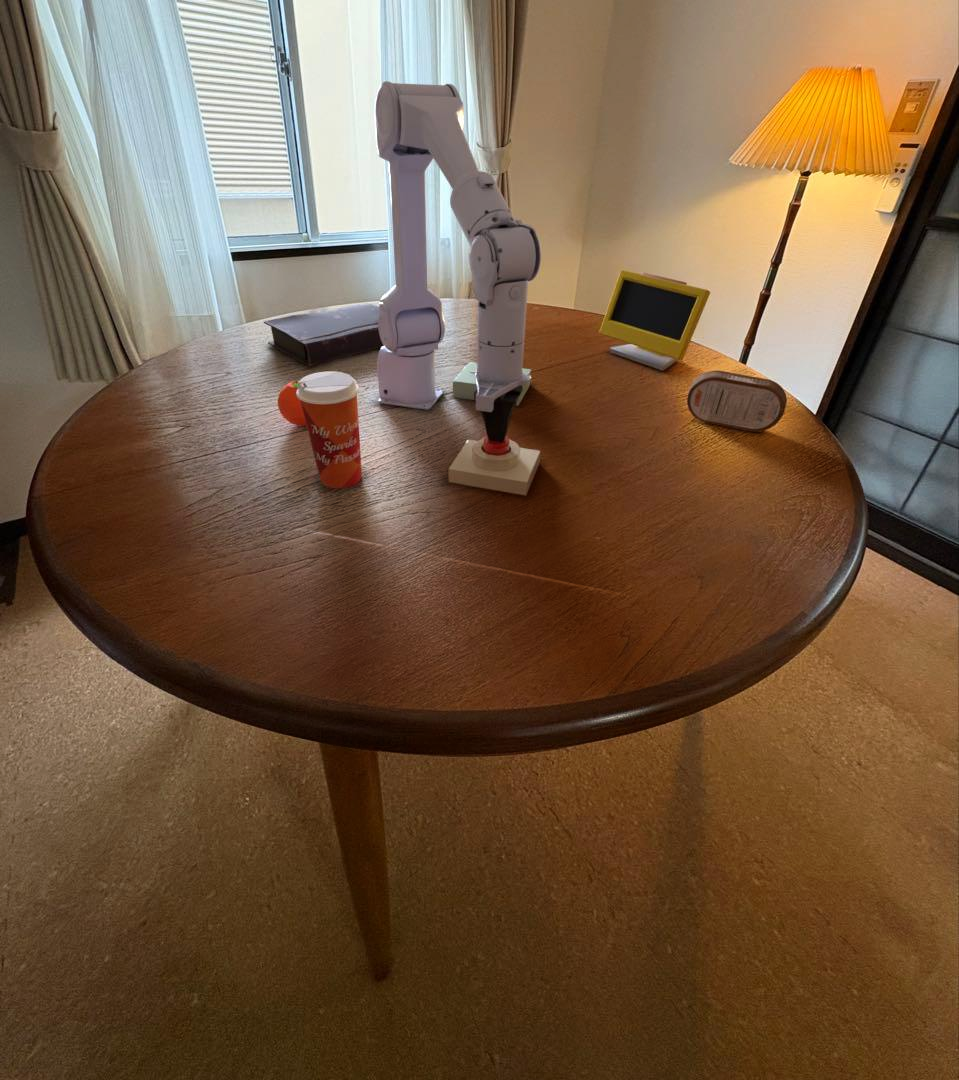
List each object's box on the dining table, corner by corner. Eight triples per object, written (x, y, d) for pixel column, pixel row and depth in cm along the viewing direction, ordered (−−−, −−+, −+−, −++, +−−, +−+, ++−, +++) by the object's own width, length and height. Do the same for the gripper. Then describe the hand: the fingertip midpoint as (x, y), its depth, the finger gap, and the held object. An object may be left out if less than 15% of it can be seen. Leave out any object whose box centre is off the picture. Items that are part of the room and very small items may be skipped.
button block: (448, 482, 78) (448, 457, 75) (467, 452, 84) (467, 428, 82) (525, 495, 75) (528, 470, 73) (539, 463, 82) (541, 439, 80)
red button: (480, 454, 77) (480, 443, 76) (487, 442, 79) (487, 431, 78) (505, 458, 76) (506, 447, 75) (511, 446, 79) (512, 435, 78)
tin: (776, 430, 92) (794, 381, 87) (775, 438, 90) (794, 388, 85) (682, 412, 97) (695, 364, 92) (679, 419, 95) (692, 371, 90)
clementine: (338, 425, 91) (332, 383, 86) (301, 440, 86) (293, 396, 82) (310, 410, 95) (303, 369, 90) (273, 423, 91) (264, 381, 86)
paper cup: (321, 498, 74) (302, 398, 65) (306, 471, 79) (288, 375, 71) (377, 484, 77) (367, 386, 68) (360, 459, 82) (348, 365, 74)
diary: (412, 342, 123) (411, 318, 120) (310, 369, 109) (306, 343, 106) (364, 322, 134) (362, 299, 131) (266, 344, 120) (261, 320, 117)
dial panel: (452, 397, 100) (452, 380, 98) (469, 376, 108) (469, 360, 106) (518, 406, 98) (519, 388, 96) (530, 384, 105) (531, 368, 104)
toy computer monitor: (596, 349, 122) (607, 270, 112) (618, 341, 126) (632, 265, 116) (674, 376, 110) (695, 291, 100) (697, 367, 114) (718, 285, 105)
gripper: (519, 363, 62) (512, 469, 70) (544, 325, 73) (536, 421, 81) (458, 355, 63) (459, 460, 72) (492, 319, 74) (489, 414, 83)
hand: (496, 439), depth 77 cm, fingers closed
